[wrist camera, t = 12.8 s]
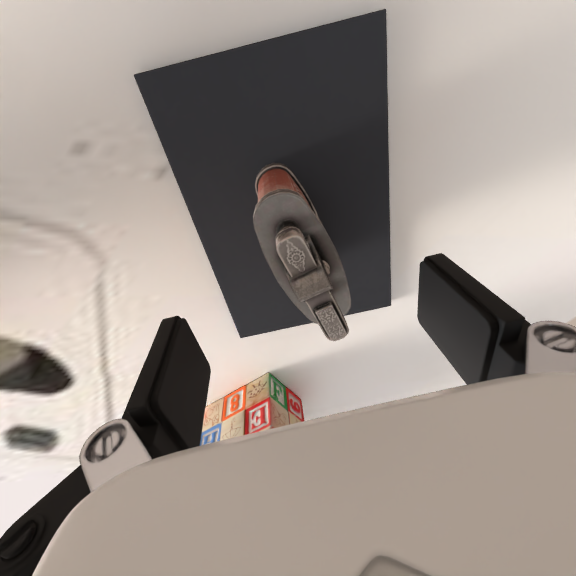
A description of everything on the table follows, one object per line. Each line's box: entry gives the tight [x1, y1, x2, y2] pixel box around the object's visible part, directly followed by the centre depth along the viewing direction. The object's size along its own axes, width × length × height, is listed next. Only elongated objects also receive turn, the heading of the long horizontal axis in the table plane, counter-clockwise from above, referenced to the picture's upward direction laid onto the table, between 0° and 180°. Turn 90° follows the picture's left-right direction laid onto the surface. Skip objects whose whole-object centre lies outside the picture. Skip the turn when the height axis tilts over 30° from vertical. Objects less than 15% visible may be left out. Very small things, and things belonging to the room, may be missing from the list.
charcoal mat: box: [134, 9, 391, 338], centre depth 21 cm, size 14×20×1 cm
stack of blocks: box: [200, 373, 304, 446], centre depth 29 cm, size 21×6×12 cm, turn 125°
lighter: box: [253, 163, 351, 341], centre depth 17 cm, size 8×3×10 cm, turn 26°
